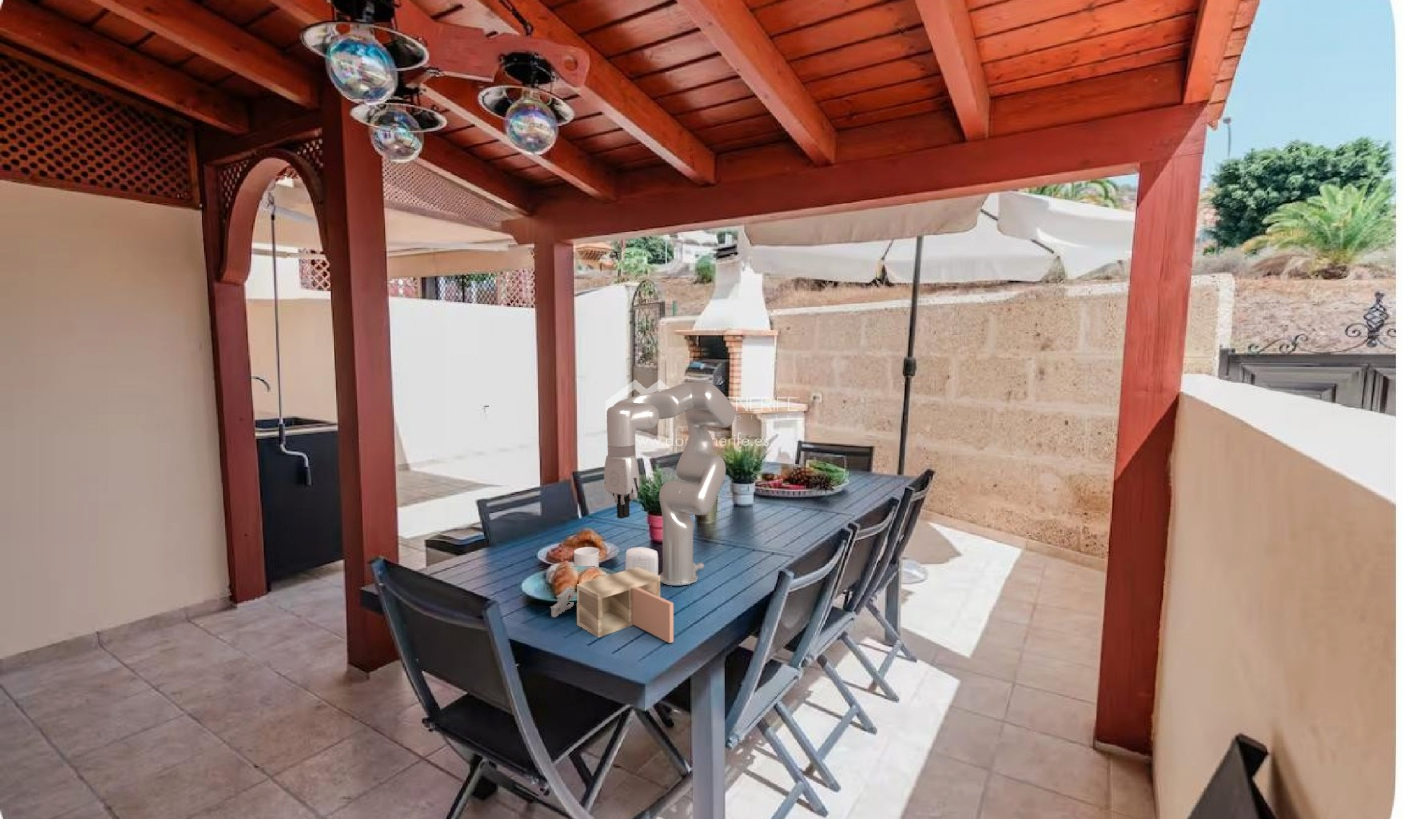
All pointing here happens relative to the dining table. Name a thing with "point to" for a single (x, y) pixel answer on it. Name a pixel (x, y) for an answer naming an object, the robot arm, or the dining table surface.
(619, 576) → the wooden cabinet
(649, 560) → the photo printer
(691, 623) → the dining table surface
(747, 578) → the dining table surface
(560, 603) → the garden wall model
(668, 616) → the door
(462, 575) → the dining table surface
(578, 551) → the white cup
